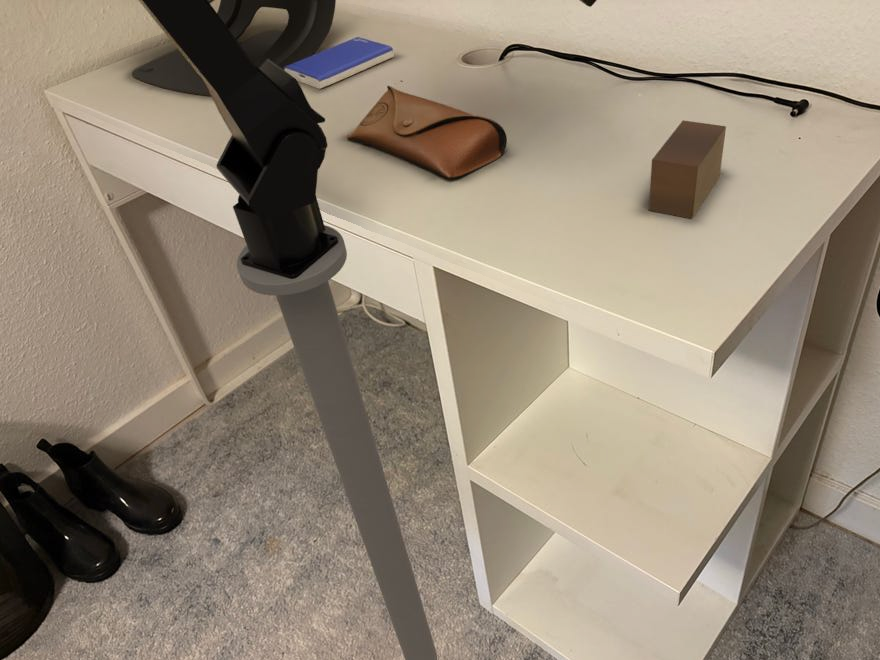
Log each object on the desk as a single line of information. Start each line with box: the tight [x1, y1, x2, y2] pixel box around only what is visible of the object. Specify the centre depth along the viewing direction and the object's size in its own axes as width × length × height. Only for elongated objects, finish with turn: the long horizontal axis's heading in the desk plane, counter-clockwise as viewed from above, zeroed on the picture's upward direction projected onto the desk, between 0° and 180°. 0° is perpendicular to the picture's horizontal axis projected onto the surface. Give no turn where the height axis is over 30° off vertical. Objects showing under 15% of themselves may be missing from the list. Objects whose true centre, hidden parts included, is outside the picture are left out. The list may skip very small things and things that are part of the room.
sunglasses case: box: [345, 85, 508, 179], centre depth 79 cm, size 18×7×7 cm, turn 47°
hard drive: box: [284, 36, 395, 90], centre depth 100 cm, size 2×8×12 cm
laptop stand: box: [131, 0, 337, 97], centre depth 102 cm, size 26×24×16 cm
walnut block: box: [648, 120, 727, 219], centre depth 66 cm, size 8×4×5 cm, turn 150°
